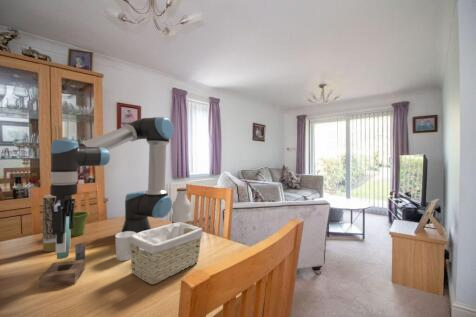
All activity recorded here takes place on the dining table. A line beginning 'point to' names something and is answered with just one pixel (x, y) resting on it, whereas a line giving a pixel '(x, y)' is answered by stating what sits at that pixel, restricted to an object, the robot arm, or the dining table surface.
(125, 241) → the white cup
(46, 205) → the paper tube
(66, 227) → the long pin
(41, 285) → the hole block
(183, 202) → the fruit juice
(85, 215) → the plant pot
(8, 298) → the dining table surface
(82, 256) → the short pin
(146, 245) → the storage basket
